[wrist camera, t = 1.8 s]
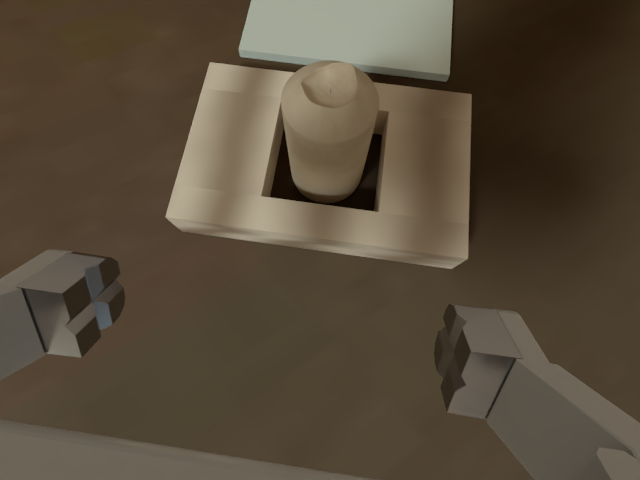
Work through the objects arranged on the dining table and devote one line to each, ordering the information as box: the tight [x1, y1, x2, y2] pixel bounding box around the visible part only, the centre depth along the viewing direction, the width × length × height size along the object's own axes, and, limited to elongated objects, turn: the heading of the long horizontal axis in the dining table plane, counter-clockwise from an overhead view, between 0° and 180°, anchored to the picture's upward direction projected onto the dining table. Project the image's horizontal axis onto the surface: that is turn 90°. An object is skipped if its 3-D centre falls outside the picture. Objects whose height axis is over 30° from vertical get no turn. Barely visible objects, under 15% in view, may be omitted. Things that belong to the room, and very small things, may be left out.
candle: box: [281, 60, 379, 204], centre depth 23 cm, size 6×6×10 cm
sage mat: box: [239, 0, 453, 82], centre depth 32 cm, size 18×12×1 cm, turn 82°
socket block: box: [166, 62, 472, 269], centre depth 27 cm, size 20×13×3 cm, turn 82°
